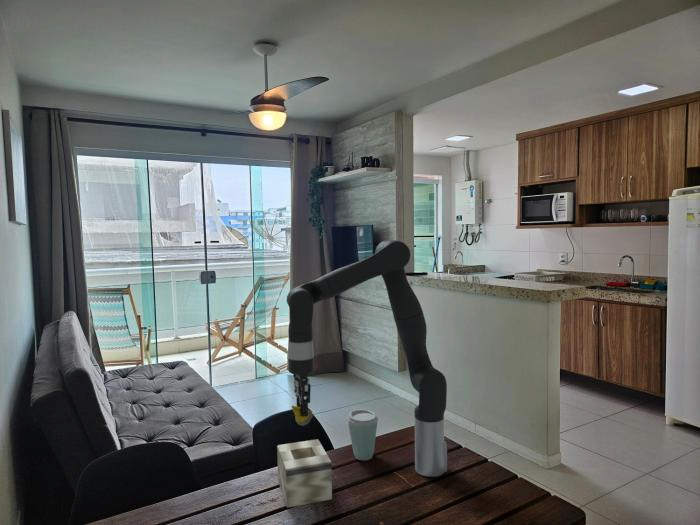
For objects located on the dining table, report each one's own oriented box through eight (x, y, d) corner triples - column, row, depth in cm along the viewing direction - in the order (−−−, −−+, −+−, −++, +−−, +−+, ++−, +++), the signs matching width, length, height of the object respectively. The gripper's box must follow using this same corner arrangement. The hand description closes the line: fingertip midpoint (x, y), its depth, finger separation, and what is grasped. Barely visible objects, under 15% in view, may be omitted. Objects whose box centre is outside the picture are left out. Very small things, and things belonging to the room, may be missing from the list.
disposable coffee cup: (384, 454, 162) (383, 411, 162) (368, 467, 153) (367, 421, 153) (358, 447, 168) (357, 405, 167) (341, 459, 159) (340, 415, 158)
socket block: (318, 472, 150) (317, 438, 150) (332, 500, 134) (331, 462, 134) (277, 479, 147) (276, 444, 146) (287, 508, 130) (286, 470, 130)
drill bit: (317, 426, 139) (299, 410, 133) (302, 432, 140) (283, 417, 134) (316, 410, 143) (299, 394, 137) (301, 416, 144) (283, 401, 138)
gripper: (319, 360, 133) (320, 419, 134) (308, 349, 146) (309, 403, 147) (292, 363, 130) (294, 423, 131) (284, 351, 144) (285, 406, 145)
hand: (302, 412), depth 139 cm, fingers closed on drill bit, 4 cm apart
